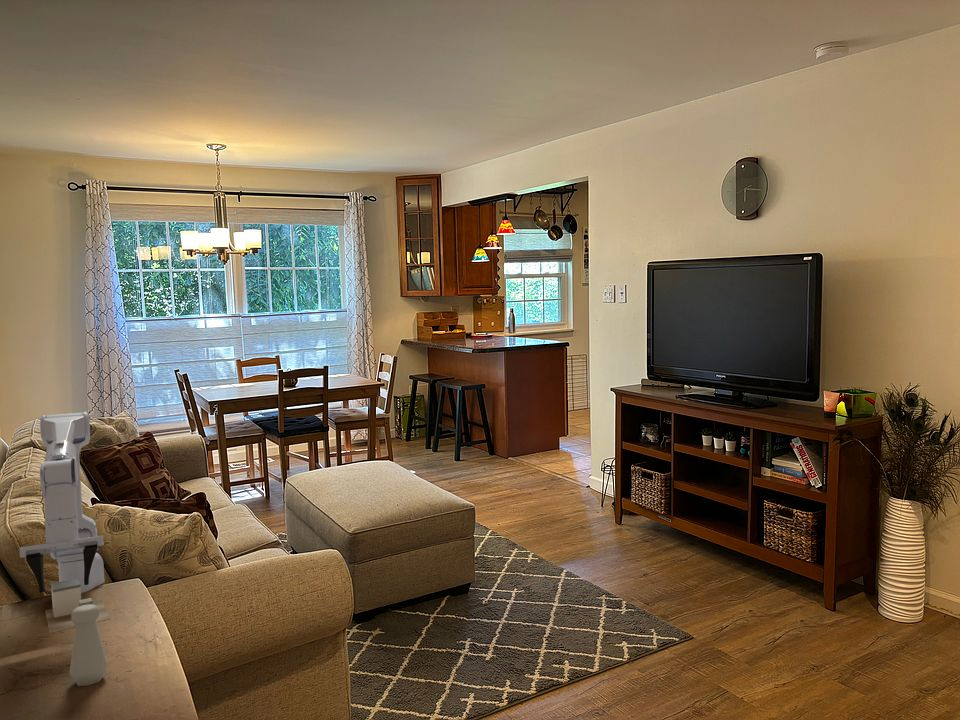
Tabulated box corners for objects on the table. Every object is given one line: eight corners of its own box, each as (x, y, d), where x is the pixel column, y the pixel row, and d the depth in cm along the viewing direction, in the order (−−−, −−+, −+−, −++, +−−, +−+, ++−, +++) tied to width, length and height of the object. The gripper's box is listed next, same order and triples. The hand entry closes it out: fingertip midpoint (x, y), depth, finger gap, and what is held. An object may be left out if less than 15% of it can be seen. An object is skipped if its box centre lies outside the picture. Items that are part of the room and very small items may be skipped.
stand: (45, 616, 159) (43, 593, 159) (101, 603, 165) (99, 582, 165) (50, 638, 146) (48, 614, 146) (110, 624, 152) (109, 601, 152)
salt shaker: (96, 688, 123) (91, 612, 122) (63, 689, 123) (58, 613, 123) (114, 672, 129) (109, 600, 128) (82, 673, 129) (78, 601, 128)
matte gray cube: (52, 610, 159) (51, 583, 159) (79, 605, 162) (78, 578, 162) (54, 617, 154) (52, 589, 154) (82, 611, 157) (80, 584, 157)
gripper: (16, 525, 139) (19, 597, 138) (101, 514, 146) (104, 583, 144) (21, 524, 146) (24, 593, 144) (102, 513, 152) (106, 579, 150)
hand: (64, 588), depth 144 cm, fingers open, 7 cm apart
